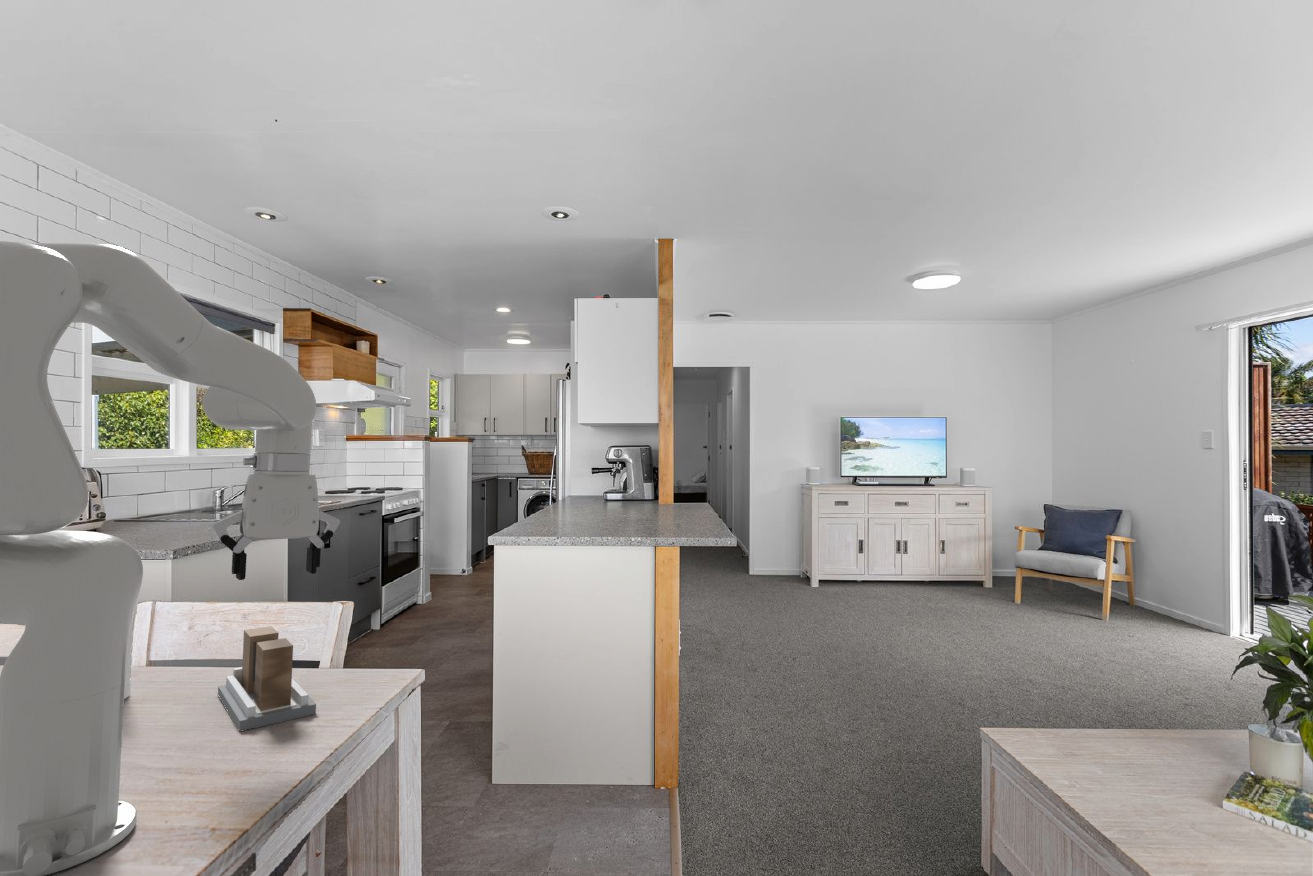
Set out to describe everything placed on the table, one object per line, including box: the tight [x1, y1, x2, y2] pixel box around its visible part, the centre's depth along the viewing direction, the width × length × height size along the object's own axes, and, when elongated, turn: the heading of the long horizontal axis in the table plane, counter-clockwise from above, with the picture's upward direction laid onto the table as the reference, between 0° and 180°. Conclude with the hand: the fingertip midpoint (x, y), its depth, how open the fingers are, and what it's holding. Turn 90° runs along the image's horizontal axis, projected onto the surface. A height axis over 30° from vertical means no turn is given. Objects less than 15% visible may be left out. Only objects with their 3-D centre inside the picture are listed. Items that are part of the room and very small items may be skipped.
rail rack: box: [217, 626, 317, 732], centre depth 101 cm, size 18×10×10 cm, turn 43°
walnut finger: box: [254, 637, 294, 711], centre depth 98 cm, size 4×6×9 cm
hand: (276, 575), depth 98 cm, fingers open, 9 cm apart
